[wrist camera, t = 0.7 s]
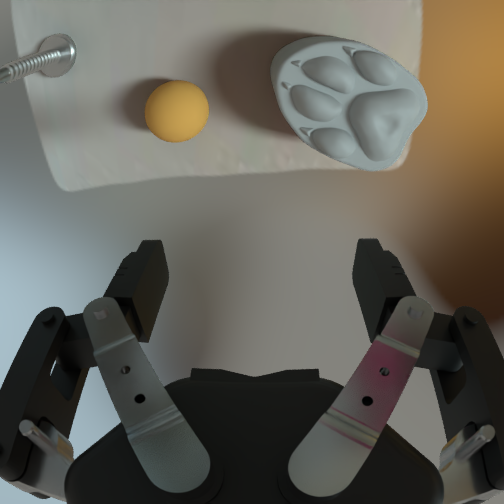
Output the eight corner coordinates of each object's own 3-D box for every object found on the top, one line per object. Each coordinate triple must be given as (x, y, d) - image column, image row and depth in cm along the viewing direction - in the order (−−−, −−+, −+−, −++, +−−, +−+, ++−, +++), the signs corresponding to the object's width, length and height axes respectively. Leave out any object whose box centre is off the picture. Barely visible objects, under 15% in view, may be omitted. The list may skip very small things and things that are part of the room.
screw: (90, 37, 24) (76, 78, 27) (56, 27, 22) (43, 67, 25) (12, 59, 14) (0, 118, 17) (-27, 48, 13) (-36, 104, 15)
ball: (158, 72, 27) (138, 84, 23) (217, 79, 28) (209, 92, 23) (152, 126, 31) (134, 148, 27) (207, 134, 32) (198, 157, 27)
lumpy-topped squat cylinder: (361, 152, 33) (388, 192, 26) (252, 104, 30) (251, 132, 23) (406, 75, 27) (448, 96, 20) (294, 14, 24) (309, 11, 17)
